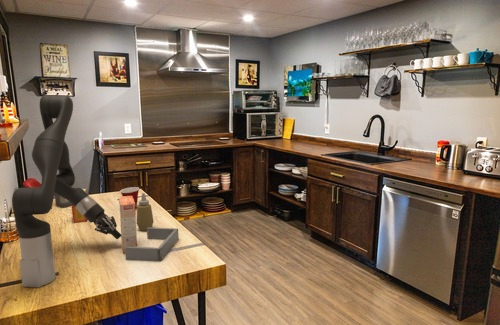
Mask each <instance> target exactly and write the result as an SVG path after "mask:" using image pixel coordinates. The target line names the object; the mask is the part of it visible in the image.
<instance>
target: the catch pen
mask: <svg viewBox="0 0 500 325" xmlns="http://www.w3.org/2000/svg"><path fill="white" fill-rule="evenodd" d="M146 234H147V236H146V237H147V238H146V239H147V240H164V241H162V243H161V244H160V245H159V246H158V247H151V246H150V247H147V246H137V247H130V246H126V247H125V253H124V255H125V260H127V261H129V260H130V261H148V262H152V261H153V262H161V261H162V260H163V259H164V258H165V257H166V255H167V254H168V253H169V251H170V250H171V249H172V248H173V246H174V245H175V244H176V243H177V241H178V240H179V228H173V227H172V228H170V227H169V228H167V227H152V228H147V231H146Z"/></svg>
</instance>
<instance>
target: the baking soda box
mask: <svg viewBox="0 0 500 325" xmlns="http://www.w3.org/2000/svg"><path fill="white" fill-rule="evenodd" d="M82 189H83V190H84V191H85V192H86V193H87V188H82ZM71 214H72V224H80V223H87V222H88V220H87V219H86V218H85V217H84V216H83V215H82V214H81V213H80V212H79V211H78V210H77V209H76V207H74V206H73V205H72V206H71Z"/></svg>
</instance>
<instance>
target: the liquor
mask: <svg viewBox="0 0 500 325" xmlns="http://www.w3.org/2000/svg"><path fill="white" fill-rule="evenodd" d="M58 174H59V172H57V175H58ZM74 185H75V184H74ZM74 185H73V186H72V187H73V188H75V186H74ZM54 202H55V206H56V207H58V208H62V209H63V208H68V207H72V204H71V203H70V202H69V201H68V200H66V199H64V198H63V197H61V196H59V195H58V194H56V193H54Z"/></svg>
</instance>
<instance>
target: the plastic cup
mask: <svg viewBox="0 0 500 325" xmlns="http://www.w3.org/2000/svg"><path fill="white" fill-rule="evenodd" d="M139 190H140V187H139V186H137V187H136V186H135V187H134V186H133V187H132V186H131V187H125V188H123V189H121V190H119V192H120V194H121V197H124V196H133V199H134V202H135V210H137V206H138V199H139Z"/></svg>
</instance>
